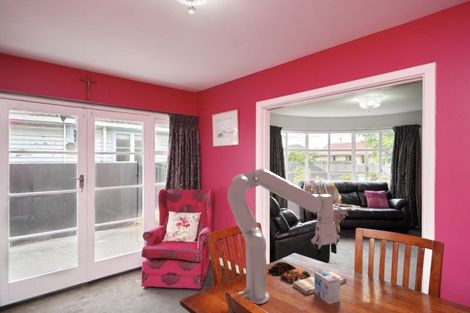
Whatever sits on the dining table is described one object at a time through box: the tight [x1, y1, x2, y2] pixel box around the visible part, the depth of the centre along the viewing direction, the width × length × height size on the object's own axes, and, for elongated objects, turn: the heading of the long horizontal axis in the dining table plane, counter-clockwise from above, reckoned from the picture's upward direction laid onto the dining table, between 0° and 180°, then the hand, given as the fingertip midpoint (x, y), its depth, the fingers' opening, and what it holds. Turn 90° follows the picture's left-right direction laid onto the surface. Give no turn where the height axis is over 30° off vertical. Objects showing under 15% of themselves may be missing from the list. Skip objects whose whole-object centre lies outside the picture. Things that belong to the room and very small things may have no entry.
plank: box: [292, 270, 347, 295], centre depth 137 cm, size 28×10×2 cm, turn 117°
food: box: [267, 261, 311, 285], centre depth 150 cm, size 22×19×4 cm
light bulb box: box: [313, 269, 341, 305], centre depth 124 cm, size 11×7×11 cm, turn 21°
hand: (326, 254), depth 126 cm, fingers open, 9 cm apart
